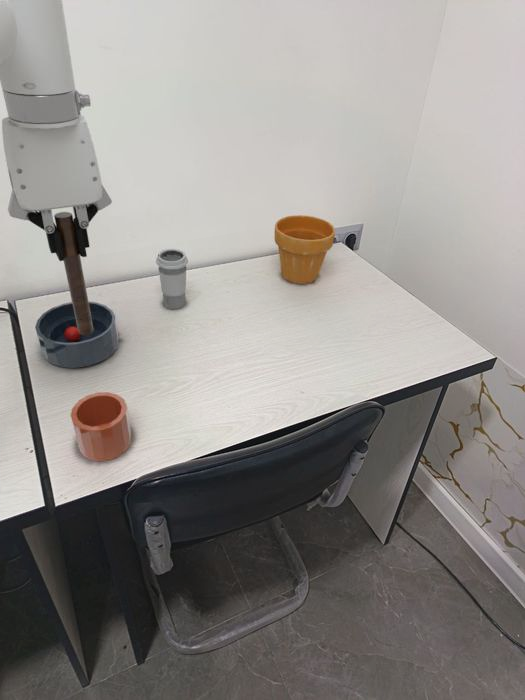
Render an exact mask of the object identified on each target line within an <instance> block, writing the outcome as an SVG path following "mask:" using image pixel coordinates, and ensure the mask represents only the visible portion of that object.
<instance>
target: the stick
mask: <svg viewBox="0 0 525 700" xmlns="http://www.w3.org/2000/svg"><path fill="white" fill-rule="evenodd" d="M53 218H54V223H55V225H56V227H57V230H58V231H59V233H60V236H61V241H62V246H63V251H64V256H65V259H64V261H63V265H64V270H65V275H66V280H67V284H68V290H69V294H70V298H71V302H72V304H73V309H74V314H75V318H76V323H77V328H78V332H79V333H80V334H82V335H87V334H90V333H92V332H93V330H94V329H93V324H92V318H91V313H90V307H89V302H88V301H89V297H88V291H87V287H86V282H85V281H86V280H85V276H84V271H83V264H82V259H81V256H80V254H79V249H78V243H77V238H76V232H75V226H74V220H73V219H74V216H73V214H72V212H68V211H59V212H57V213H55V214H54V216H53Z"/></svg>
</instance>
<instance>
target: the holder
mask: <svg viewBox="0 0 525 700" xmlns="http://www.w3.org/2000/svg"><path fill="white" fill-rule="evenodd" d="M70 419H71V424H72V427H73V431H74V434H75V438H76V442H77V446H78V450H79V452H80V454H81V455H82V456H83V457H84V458H86V459H88V460H90V461H93V462H107V461H112V460H114V459H116V458H119V457H120V456H122V455H123V454H124V453H125V452H126V451H127V450H128V449H129V447H130V445H131V442H132V430H131V425H130V417H129V411H128V405H127V403H126V400H125V399H124V398H123V397H121V396H120V395H119V394H116V393H113V392H108V391H102V392H95V393H91V394H88V395H85V396H83V397H82V398H80V399H79V400H78V401H77V402H76V403H75V404H74V405H73V407H72V409H71V412H70Z"/></svg>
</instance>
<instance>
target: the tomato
mask: <svg viewBox="0 0 525 700" xmlns="http://www.w3.org/2000/svg"><path fill="white" fill-rule="evenodd" d="M80 337H81V334H80V333H79V332H78V328H77V327H74V326H72V327H69V328H67V329H66V331H65V338H66V339H67V340H68V341H71V342H75V341H77V340H79V339H80Z"/></svg>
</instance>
